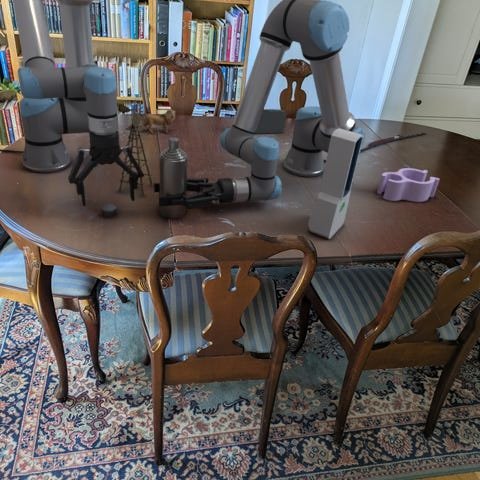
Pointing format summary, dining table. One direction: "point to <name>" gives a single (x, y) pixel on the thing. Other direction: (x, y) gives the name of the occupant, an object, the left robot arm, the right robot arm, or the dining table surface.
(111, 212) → the cap
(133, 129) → the miniature windmill
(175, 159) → the bottle
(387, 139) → the sword
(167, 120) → the lion figurine
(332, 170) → the electronic device
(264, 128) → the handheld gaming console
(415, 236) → the dining table surface
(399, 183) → the clip
